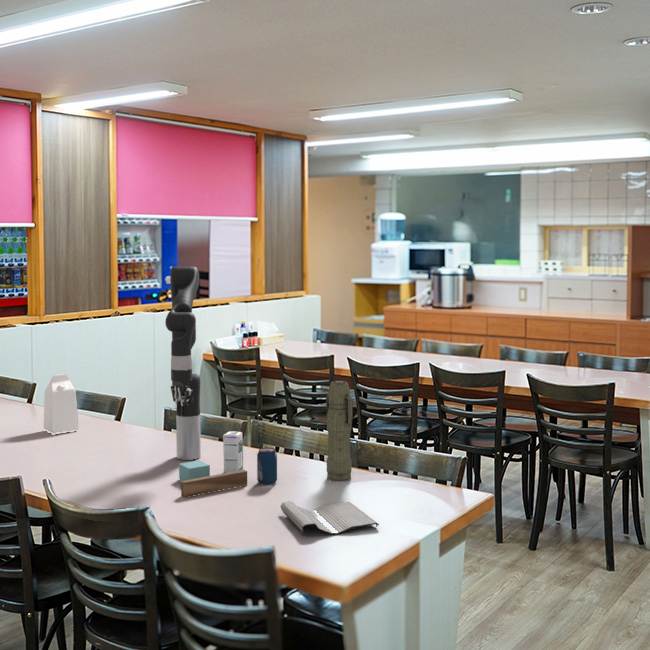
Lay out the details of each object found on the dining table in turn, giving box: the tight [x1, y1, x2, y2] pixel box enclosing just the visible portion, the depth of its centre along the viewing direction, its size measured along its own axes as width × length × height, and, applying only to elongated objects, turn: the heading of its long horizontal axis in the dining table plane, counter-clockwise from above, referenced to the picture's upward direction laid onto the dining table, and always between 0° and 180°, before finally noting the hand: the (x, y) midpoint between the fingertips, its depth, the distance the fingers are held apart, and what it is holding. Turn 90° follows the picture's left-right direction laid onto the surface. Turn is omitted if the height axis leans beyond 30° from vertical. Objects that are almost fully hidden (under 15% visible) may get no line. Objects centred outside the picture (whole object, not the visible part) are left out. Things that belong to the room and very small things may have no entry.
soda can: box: [256, 447, 278, 486], centre depth 275 cm, size 7×7×12 cm
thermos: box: [325, 379, 354, 482], centre depth 281 cm, size 9×12×35 cm
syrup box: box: [222, 430, 244, 473], centre depth 290 cm, size 6×6×14 cm
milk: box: [43, 373, 80, 433], centre depth 356 cm, size 12×12×26 cm
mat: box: [280, 500, 380, 535], centre depth 236 cm, size 23×24×5 cm
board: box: [180, 469, 248, 498], centre depth 267 cm, size 2×24×5 cm, turn 127°
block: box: [178, 460, 211, 481], centre depth 279 cm, size 8×8×6 cm
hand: (182, 414), depth 284 cm, fingers open, 3 cm apart
